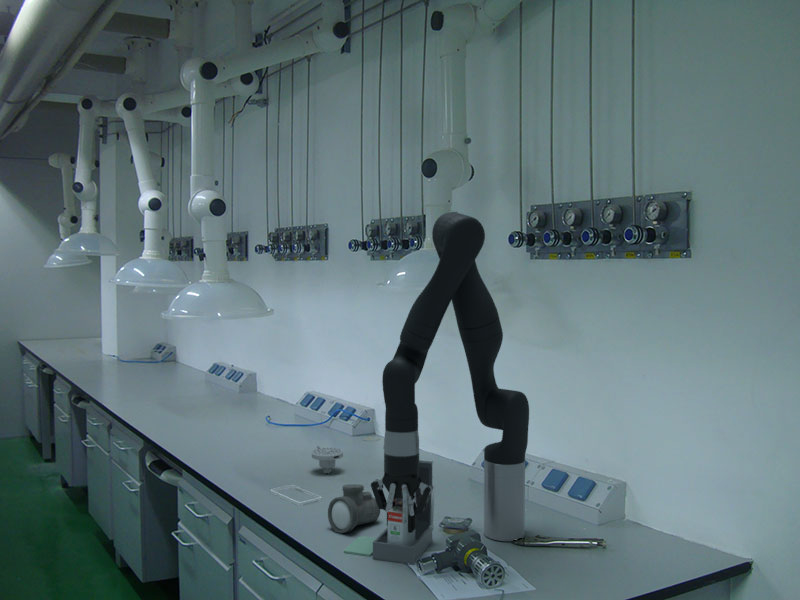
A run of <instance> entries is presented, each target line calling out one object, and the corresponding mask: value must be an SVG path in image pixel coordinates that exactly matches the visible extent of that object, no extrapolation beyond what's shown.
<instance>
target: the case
mask: <svg viewBox="0 0 800 600" xmlns="http://www.w3.org/2000/svg"><path fill="white" fill-rule="evenodd" d="M433 464H434V461H433V460H431V459H430V460H427V459H419V477H420V479H421V482H422V483H424V484H426V485H432V486H433V490H432V493H431V495H430V498H429V501H428V503H427V506H426V509H425V510H424V511H423V512H422V513H421V514H417V527H416V529H415V544H414V545H413V546H405V545H397V544H390V543H387V539H388V527H386V528H385V530H383V532H381V533H380V534H379V535H378V537H375V538H376V539H375V540H374V541H373V554H372V559H373V560H379V561H386V562H392V563H399V564H407V565H413V564H414V563H415V562H417V561H418V560H419V559H418V558H420V557H421V556H422V555H423V554H424V553H425V551H426V550H427V548H428V547H429V546H430V545H431V543H432V542H433V531H434V529H435V525H434V518H435V517H434V514H435V513H434V511H435V510H434V509H435V488H436V485H435V484H434V483H433ZM421 498H422V494H421V489H420V488H418V489H417V491H416V504H417V506H419V503H420V500H421ZM401 500H402V498H397V500H396V504H398V503H399V502H400V501H401ZM396 504H395V505H396ZM417 559H418V560H417ZM416 560H417V561H416ZM408 563H409V564H408ZM415 564H416V563H415ZM415 564H414V565H415Z"/></svg>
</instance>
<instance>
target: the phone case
mask: <svg viewBox="0 0 800 600" xmlns="http://www.w3.org/2000/svg"><path fill="white" fill-rule="evenodd" d="M288 489H294V490H296V489H298V490H300V491H302V492H303V493H304V494H306V495H308V496H310V497H313V498H312V499H307V500H304V501H298V500H295V499H293V498H290V497H289V496H287V495H285V494H282V493H279V492H280V491H284V490H288ZM269 492H270V494H272V495H274V496H276V497H278V498H281V499H283V500H285V501H287V502H289V503H291V504H294V505H296V506H297V507H298V506H299V507H303V506H304V505H305V504H306V503H309V502H313V501H317V500H318V502H322V501H323V497H322V496H320V495H319V494H316V493H314V492H311V491H309V490H306V489H305V488H301V487H299V486H297V485H294V484H288V485H283V486H280V487H274V488H271V489H270V491H269Z"/></svg>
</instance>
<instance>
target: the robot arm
mask: <svg viewBox="0 0 800 600" xmlns="http://www.w3.org/2000/svg"><path fill="white" fill-rule="evenodd" d="M431 231H432V233H431V235H432V242H433V245H434V248H435V251H436V253H437V256H438V259H439V262H438V265H437V266H436V269H435V271H434V273H433V275H432V277H431V278H430V280H429V282H428V283H427V285H426V286H425V287H424V288H423V290H422V291H421V292H420V294H419V295H418V296H417V298H416V299H415V300H414V302H413V304H412V306H411V308H410V310H409V312H408V315H407V317H406V320H405V322H404V325H403V327H402V329H401V332H400V336H399V343H398V346H397V347H396V351H395V353H394V355H393V357H392V360H389V361H388V362H387V363H386V365H385V366H384V368H383V371H382V377H381V378H382V381H381V383H382V392H383V400H384V406H385V412H384V415H385V418H384V421H385V422H384V423H385V425H384V429H385V430H384V437H383V438H384V440H383V472H384V474H383V476H382V478H381V479H377V478H376V479H375V480H373V481H372V482H371V483H370V487H371V491H372V492H373V496H374V497H373V498H375V500H376V502H377V505H378V508H379V509H380V510H383V511H384V512H386V526H387V527H388V511H389V510H390V509H391V508H393V507H394V506H395V504H396V500H397V498H402V490H403V489H404V488H406V492H407V505H408V512H409V515H408V532H409V533H412V532H413V531H414V530H415V529H416V527H417V514H421V513H422V512H423V511H424V510H425V509H426V506H427V503H428V501H429V498H430V495H431V493H432V490H433V486H432V485H426V484H424V483H422V482H421V479H420V477H419V460H420V435H419V410H418V406H417V403H416V383H417V382H418V381H419V379H420V377H421V374H422V373H423V370H424V367H425V362H426V360H427V356H428V353H429V350H430V348H431V347H432V345H433V342H434V340H435V339H436V338H435V337H436V335H437V332H438V331H439V328H440V326H441V323H442V321H443V319H444V316H445V314H446V313H447V310H448V307H449V306H450V303H452V307H453V310H454V315H455V321H456V324H457V325H456V326H457V328H458V333H459V336H460V340H461V342H462V346H463V349H464V353H465V357H466V361H467V366H468V370H469V375H470V380H471V386H472V392H473V401H474V406H475V410H476V411H475V412H476V415H477V417H478V419H479V422H480V423H481V424H482V425H483V426H485V427H486V428H489V429H495V430H500V431H502V435H501V440H500V441H498V442H497V441H496V442H493V443H490V444H487V445H486V446H485V447H484V451H483V458H484V460H483V466H484V467H483V479H484V480H483V495H484V496H483V534H484V536H485V537H487V538H489V539H490V540H495V541H499V542H514V541H513V540H515V539H519V538H522V539H523V538H524V537H525V533H526V532H525V531H526V529H525V528H526V527H525V526H526V525H525V522H526V513H525V512H526V507H525V506H526V503H525V502H526V454H527V453H526V451H527V448H528V443H529V442H528V441H529V425H530V424H529V423H530V422H529V421H530V405H529V400H528V398H527V396H526V395H525V393H524V392H522V391H519V390H514V389H505V388H499V387H498V384H497V380H496V378H495V371H494V370H495V369H494V368H495V363H496V360H497V357H498V354H499V352H500V350H501V346H502V344H503V339H504V338H503V337H504V333H503V328H502V323H501V320H500V315H499V312H498V309H497V306H496V304H495V302H494V299H493V297H492V294H491V293H490V291H489V290H488V286H486V283H485V282H484V280H483V278H482V277H481V274H480V272H479V269H478V266H477V262H476V259H477V257H478V256H479V254H480V252H481V251H482V249H483V246H484V244H485V239H486V233H485V229H484V226H483V225H482V223H481V221H479V220H478V219H477V218H475V217H474V216H470V215H467V214H464V213H459V212H453V211H451V212H446V213H443V214H441V215H440V216H439V217H438V218H437V219H436V221H435V222H434V225H433V228H432V230H431ZM384 487H385V490H387V492H388V495H387V499H386V496H385V493H384V491H383V489H384ZM418 488H420V489H421V494H422V498H421V500H420V503H419V506H417V504H416V496H415V492H416V491H417V489H418ZM411 497H412V498H411ZM387 527H386V528H387Z"/></svg>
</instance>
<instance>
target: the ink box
mask: <svg viewBox="0 0 800 600" xmlns="http://www.w3.org/2000/svg"><path fill="white" fill-rule="evenodd" d="M415 496H416V492H415ZM411 498H412V497H411ZM408 515H409V512H408V505H407V492H406V488H404V489H403V490H402V500H401V501H400V502H399V503H398V504H396V505H395V506H394V507H393V508H391V509H390V510H389V511H388V539H387V543H390V544H397V545H405V546H413V545H414V544H415V543H416V540H415V530H414V531H413V532H412V533H409V532H408Z"/></svg>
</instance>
